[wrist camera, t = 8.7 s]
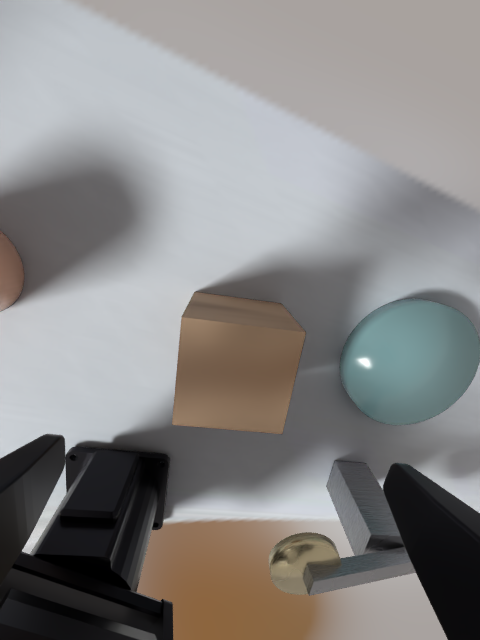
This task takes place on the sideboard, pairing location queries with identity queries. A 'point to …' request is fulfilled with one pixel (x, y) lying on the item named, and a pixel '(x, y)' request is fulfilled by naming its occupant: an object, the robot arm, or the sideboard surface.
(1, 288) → the peach rounded cylinder
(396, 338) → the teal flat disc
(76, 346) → the sideboard surface
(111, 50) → the sideboard surface
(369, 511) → the balance
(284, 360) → the block
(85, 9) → the sideboard surface
